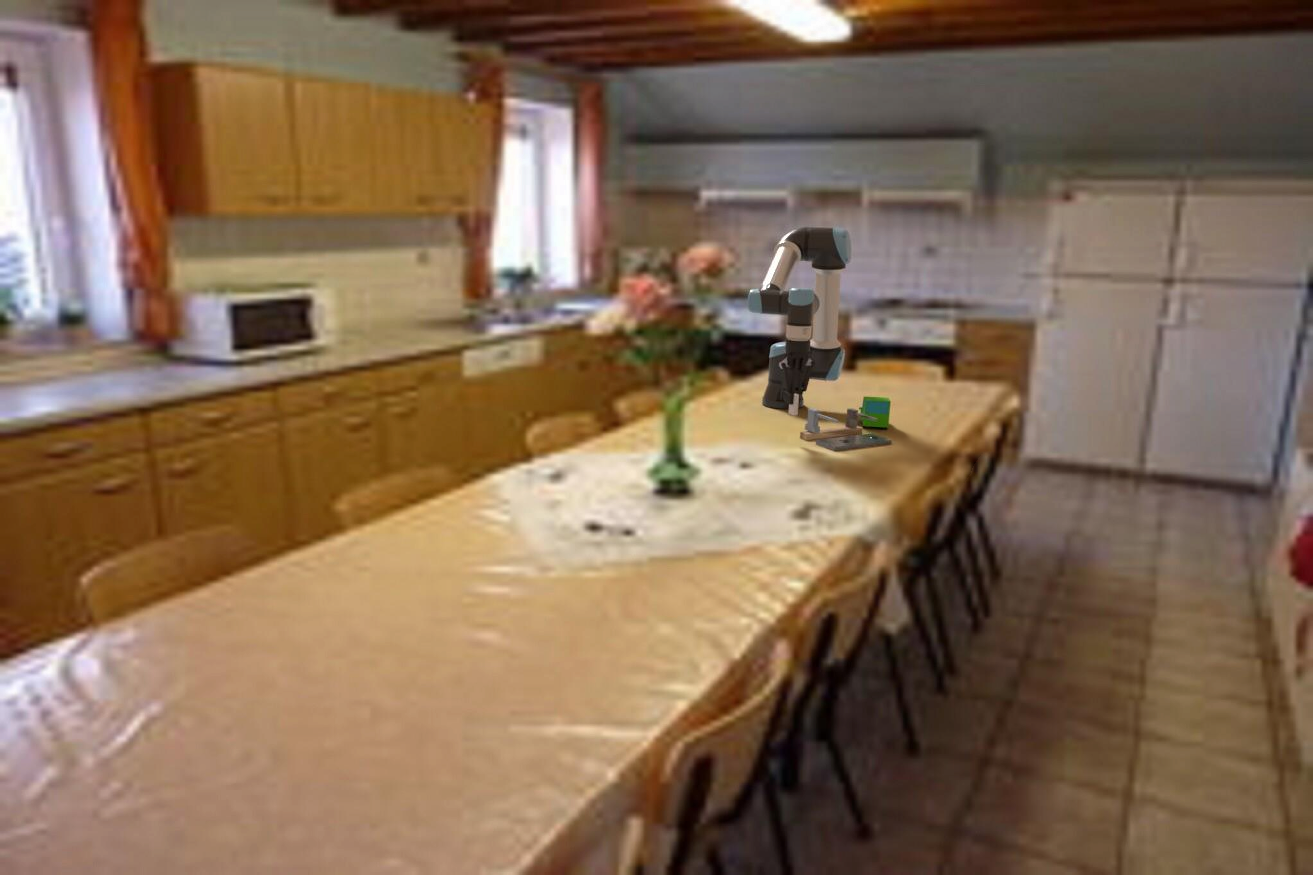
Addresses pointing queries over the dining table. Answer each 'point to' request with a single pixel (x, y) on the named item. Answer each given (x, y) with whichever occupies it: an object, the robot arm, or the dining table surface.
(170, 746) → the dining table surface
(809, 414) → the grey hammer
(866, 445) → the hole plate
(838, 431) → the rail
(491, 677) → the dining table surface
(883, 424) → the green box
